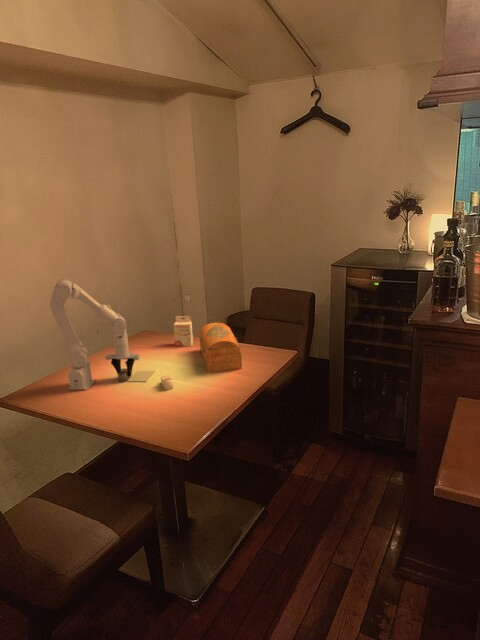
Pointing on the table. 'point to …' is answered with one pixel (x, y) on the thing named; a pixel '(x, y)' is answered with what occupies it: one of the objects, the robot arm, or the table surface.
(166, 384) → the ivory plug
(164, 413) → the table surface
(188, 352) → the table surface
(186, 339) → the ink cartridge box
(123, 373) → the tan-capped grey bottle
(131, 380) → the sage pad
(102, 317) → the robot arm
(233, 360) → the wooden box
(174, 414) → the table surface
